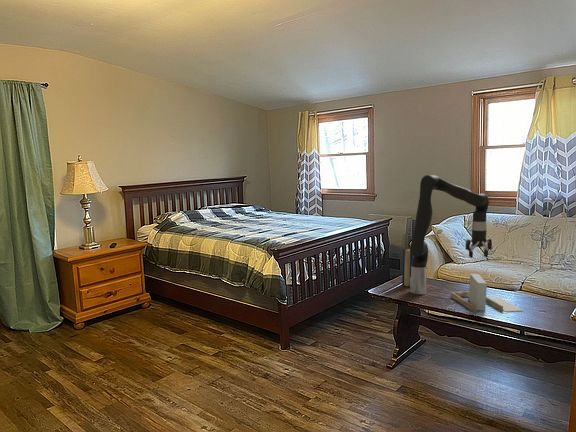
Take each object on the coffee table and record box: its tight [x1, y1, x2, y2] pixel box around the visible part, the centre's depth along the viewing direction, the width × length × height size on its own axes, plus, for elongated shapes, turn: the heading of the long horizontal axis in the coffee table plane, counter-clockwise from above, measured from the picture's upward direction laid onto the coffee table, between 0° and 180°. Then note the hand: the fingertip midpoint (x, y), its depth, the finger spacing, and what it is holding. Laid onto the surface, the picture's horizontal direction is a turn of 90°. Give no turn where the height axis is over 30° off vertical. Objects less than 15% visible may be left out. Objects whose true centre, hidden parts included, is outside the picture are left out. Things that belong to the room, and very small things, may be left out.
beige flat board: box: [489, 296, 524, 313], centre depth 251 cm, size 10×24×1 cm, turn 4°
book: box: [401, 247, 413, 287], centre depth 297 cm, size 22×7×25 cm, turn 134°
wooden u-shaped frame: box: [450, 290, 504, 314], centre depth 254 cm, size 16×29×3 cm, turn 4°
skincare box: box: [468, 273, 488, 312], centre depth 251 cm, size 21×6×16 cm, turn 168°
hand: (478, 257), depth 249 cm, fingers open, 8 cm apart
